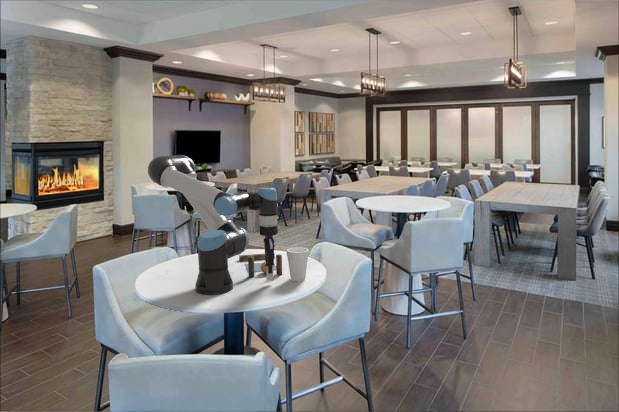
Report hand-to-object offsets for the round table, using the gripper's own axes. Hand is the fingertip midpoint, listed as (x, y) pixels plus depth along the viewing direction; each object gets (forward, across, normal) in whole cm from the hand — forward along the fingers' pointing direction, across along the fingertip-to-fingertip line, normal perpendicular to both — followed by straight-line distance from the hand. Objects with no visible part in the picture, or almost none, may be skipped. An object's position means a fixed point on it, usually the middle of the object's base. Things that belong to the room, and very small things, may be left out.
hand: (270, 280), depth 189 cm
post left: (+2, +13, +6) cm, 15 cm away
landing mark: (+2, +27, 0) cm, 27 cm away
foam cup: (+2, +4, -13) cm, 14 cm away
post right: (+2, +13, -6) cm, 15 cm away
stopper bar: (+2, +42, 0) cm, 42 cm away
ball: (-1, +16, -1) cm, 16 cm away
